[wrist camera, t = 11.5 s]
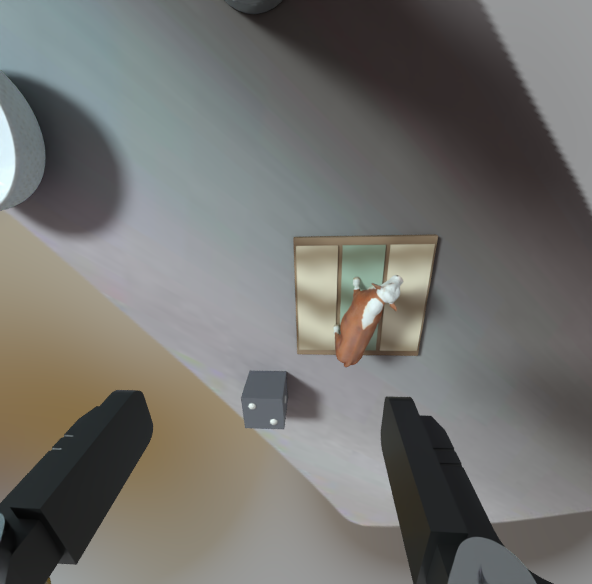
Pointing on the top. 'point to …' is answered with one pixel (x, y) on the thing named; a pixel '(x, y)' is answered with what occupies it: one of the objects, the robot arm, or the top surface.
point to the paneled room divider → (361, 288)
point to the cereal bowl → (18, 147)
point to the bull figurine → (363, 318)
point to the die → (265, 400)
